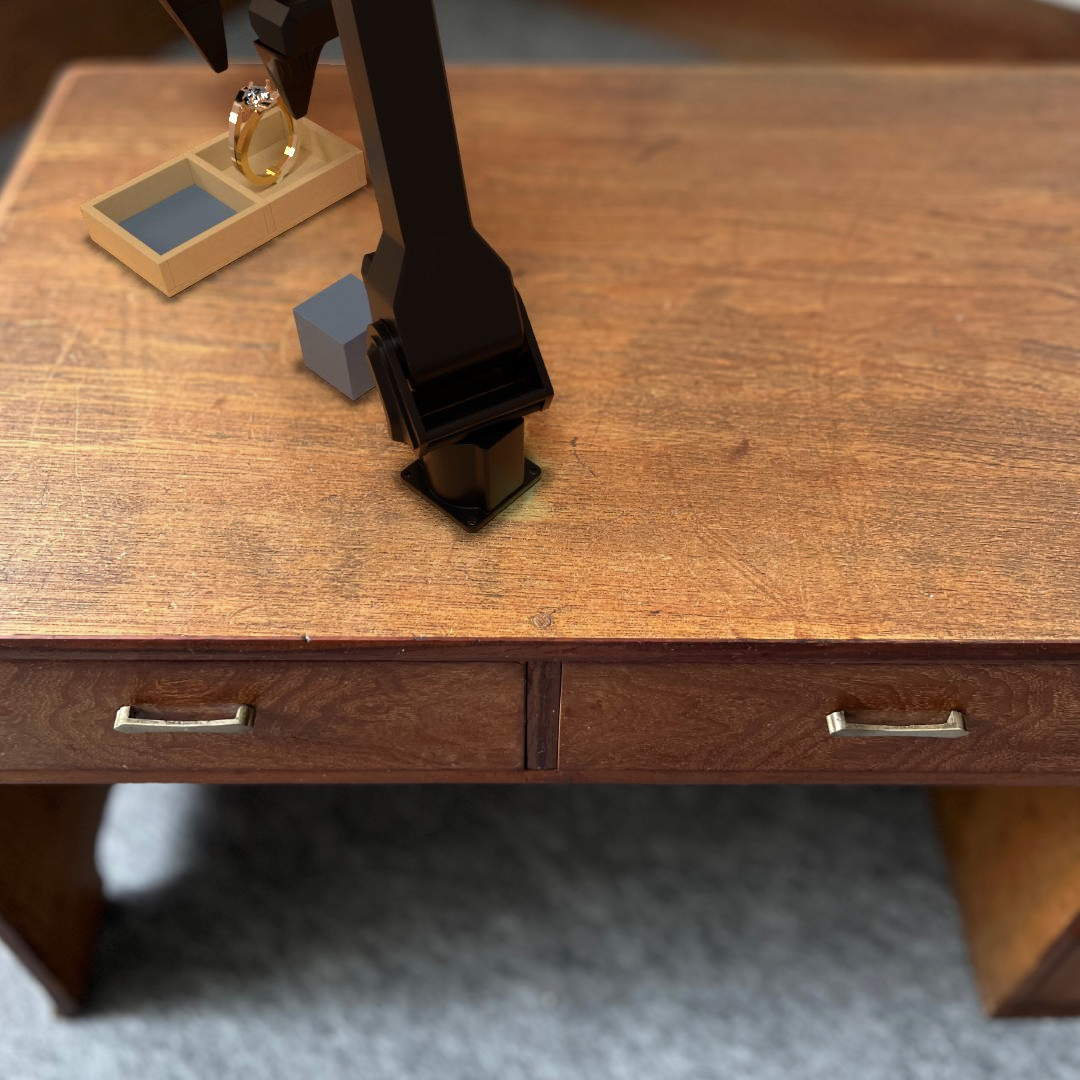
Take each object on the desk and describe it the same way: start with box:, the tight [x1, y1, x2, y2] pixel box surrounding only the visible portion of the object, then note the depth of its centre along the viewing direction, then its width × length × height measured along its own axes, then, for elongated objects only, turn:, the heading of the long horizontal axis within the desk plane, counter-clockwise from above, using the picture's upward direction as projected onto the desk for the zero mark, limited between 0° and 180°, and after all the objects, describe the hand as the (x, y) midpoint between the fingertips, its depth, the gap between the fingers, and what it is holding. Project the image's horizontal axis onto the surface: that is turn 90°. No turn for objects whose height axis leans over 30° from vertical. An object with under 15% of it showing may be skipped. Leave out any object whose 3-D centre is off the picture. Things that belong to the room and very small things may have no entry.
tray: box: [78, 105, 368, 298], centre depth 82 cm, size 19×10×3 cm, turn 138°
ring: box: [228, 79, 303, 185], centre depth 82 cm, size 7×3×8 cm, turn 143°
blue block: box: [292, 273, 376, 401], centre depth 71 cm, size 5×5×5 cm
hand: (260, 93), depth 79 cm, fingers open, 9 cm apart
